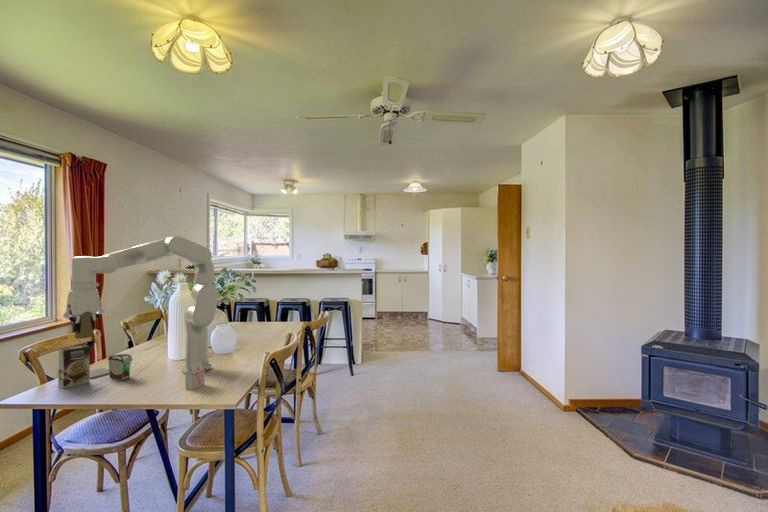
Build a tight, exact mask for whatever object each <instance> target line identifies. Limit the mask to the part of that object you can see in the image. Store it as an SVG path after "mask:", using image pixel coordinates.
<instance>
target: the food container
mask: <svg viewBox="0 0 768 512" xmlns="http://www.w3.org/2000/svg"><path fill="white" fill-rule="evenodd" d="M107 361H108V369H109V374H108V375H109V379H110V378H111V380H115V381H119V382H125V381H128V380H129V379H130V373H131V371H130V370H131V362H133V356H132V355H131V354H127V353H123V354H121V353H119V354H113V355H108V357H107ZM127 379H128V380H127Z"/></svg>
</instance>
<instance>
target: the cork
mask: <svg viewBox="0 0 768 512" xmlns="http://www.w3.org/2000/svg"><path fill="white" fill-rule="evenodd" d="M91 316H92V313H91V312H89V311H87V312H84V313H83V314H82V315H80V320H79V323H81V329H80V333H78V332H77V331H76V333H75V332H74V339H77V340H78V339H79V340H81V339H87V338H93V337H94V336H95V334H94V331H93V329H92V323H91Z"/></svg>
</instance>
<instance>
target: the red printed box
mask: <svg viewBox="0 0 768 512" xmlns="http://www.w3.org/2000/svg"><path fill="white" fill-rule="evenodd" d="M205 372H206V371H204V368H203V366H202V361H201V362H198V363H195V364H193V365H190V366H189V368H188V371H187V373H185V381H184V382H185V386H184V388H185V390H186V389H189V391H195V390H196V388H197V389H199V388H200V386H201V387H203V386H205V378H206V377H205V374H206V373H205ZM202 385H203V386H202ZM198 387H199V388H198ZM194 389H195V390H194Z"/></svg>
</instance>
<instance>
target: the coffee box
mask: <svg viewBox="0 0 768 512" xmlns="http://www.w3.org/2000/svg"><path fill="white" fill-rule="evenodd" d="M90 353H91V346H90V345H87V344H80V345H79V344H78V345H72V346H67V347H61V348H58V379H57V381H58V382H57V383H58V387H60V388H61V389H64V390H65V389H69V388H73V387H77V386H81V385H85V384H89V383H90V379H89V374H90V371H91V370H90V363H91V362H90V360H91V356H90V355H91V354H90Z"/></svg>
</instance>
